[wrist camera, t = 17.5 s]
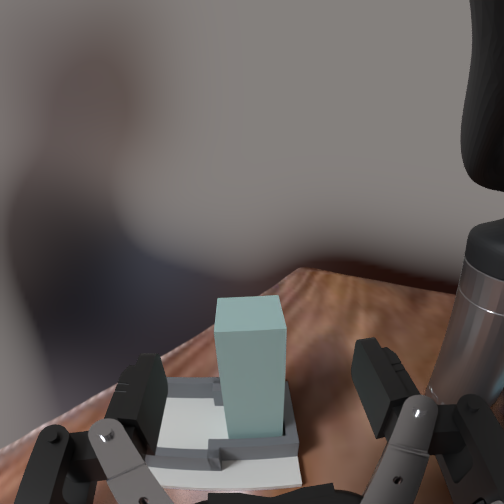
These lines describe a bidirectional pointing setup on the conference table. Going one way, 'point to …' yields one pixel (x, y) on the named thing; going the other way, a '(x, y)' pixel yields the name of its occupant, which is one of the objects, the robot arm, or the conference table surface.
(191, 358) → the conference table surface
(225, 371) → the teal post
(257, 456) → the keyhole guide
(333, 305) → the conference table surface
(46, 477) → the robot arm
